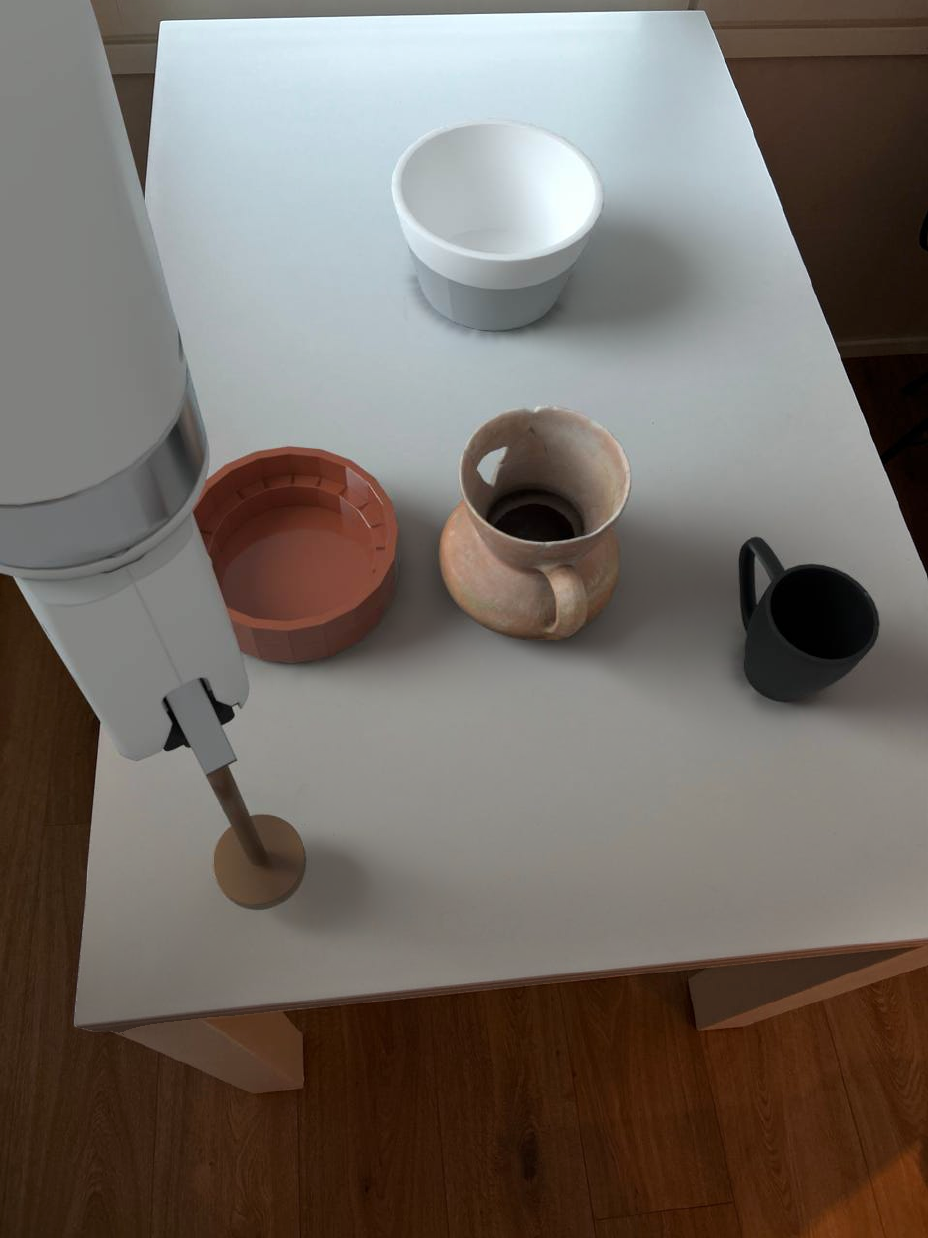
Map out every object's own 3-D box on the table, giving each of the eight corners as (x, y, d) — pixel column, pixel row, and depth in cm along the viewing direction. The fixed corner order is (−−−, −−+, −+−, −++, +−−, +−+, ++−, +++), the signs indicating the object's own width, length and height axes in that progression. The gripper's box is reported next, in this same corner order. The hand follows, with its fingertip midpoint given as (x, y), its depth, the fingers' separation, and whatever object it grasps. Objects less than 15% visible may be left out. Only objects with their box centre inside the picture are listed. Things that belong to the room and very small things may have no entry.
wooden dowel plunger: (239, 927, 63) (114, 751, 35) (201, 849, 65) (54, 623, 37) (322, 880, 65) (266, 676, 37) (281, 805, 67) (200, 559, 39)
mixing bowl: (247, 702, 73) (235, 667, 68) (160, 542, 80) (142, 499, 74) (435, 606, 78) (437, 567, 73) (338, 462, 84) (333, 417, 79)
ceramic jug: (422, 502, 83) (423, 389, 70) (585, 482, 85) (615, 368, 72) (460, 692, 74) (469, 602, 62) (640, 665, 76) (684, 572, 64)
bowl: (621, 316, 94) (644, 225, 85) (443, 375, 90) (446, 285, 80) (531, 194, 102) (543, 97, 93) (363, 242, 98) (357, 146, 88)
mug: (762, 574, 81) (802, 508, 73) (850, 692, 76) (904, 636, 68) (680, 610, 79) (712, 547, 70) (765, 734, 74) (810, 682, 66)
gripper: (-173, 290, 27) (37, 607, 44) (19, 739, 21) (180, 914, 38) (82, 209, 30) (192, 539, 46) (321, 595, 24) (351, 818, 40)
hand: (186, 707), depth 42 cm, fingers closed on wooden dowel plunger
